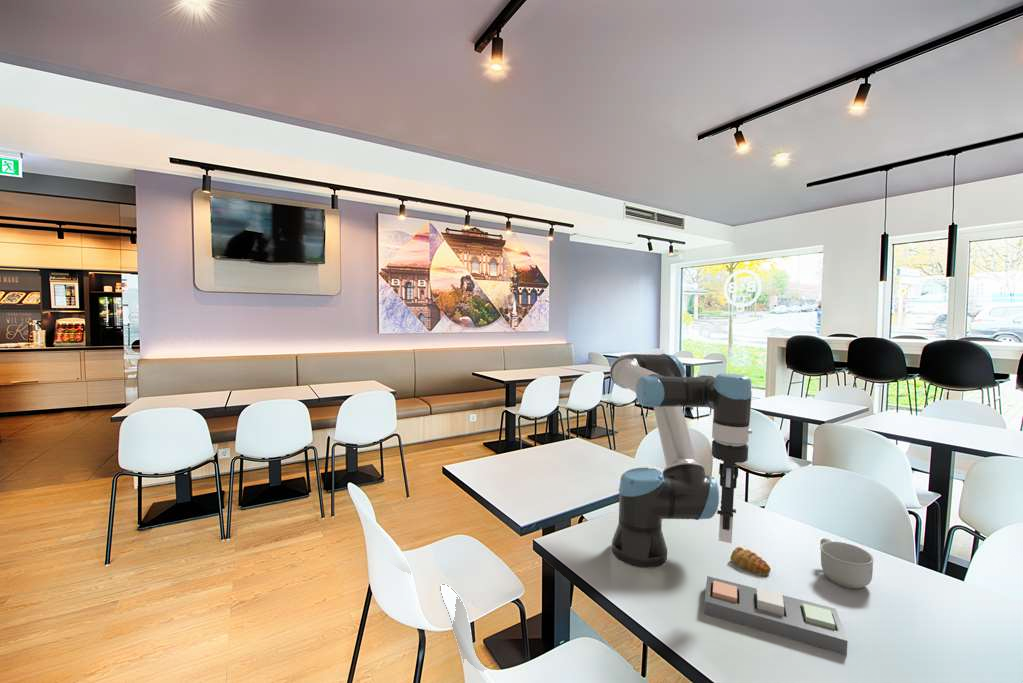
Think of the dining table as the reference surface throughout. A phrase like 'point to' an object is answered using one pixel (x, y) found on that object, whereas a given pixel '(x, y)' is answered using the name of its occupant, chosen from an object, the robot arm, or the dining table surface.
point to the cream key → (770, 601)
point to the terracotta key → (725, 591)
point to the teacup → (846, 563)
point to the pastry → (749, 561)
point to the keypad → (775, 618)
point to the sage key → (818, 616)
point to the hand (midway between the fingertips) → (725, 540)
